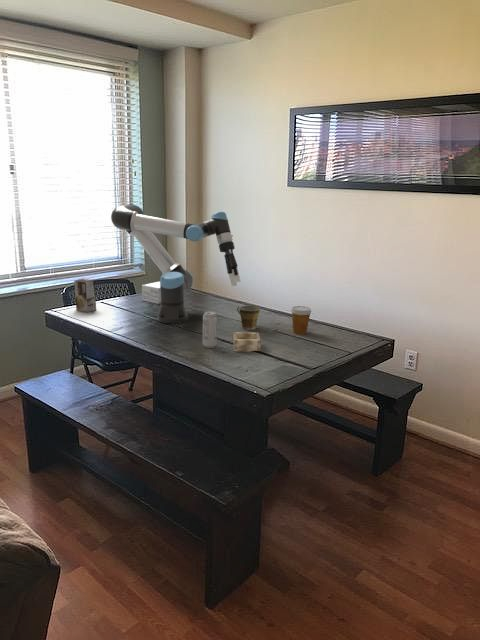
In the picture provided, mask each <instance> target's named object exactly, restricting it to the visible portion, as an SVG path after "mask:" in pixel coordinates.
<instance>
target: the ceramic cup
mask: <svg viewBox="0 0 480 640" xmlns="http://www.w3.org/2000/svg"><path fill="white" fill-rule="evenodd" d="M236 311H237V312H238V314H239V316H240V321H241V328H242V329H244V330H246V331H247V330H248V331H249V330H251V331H253V330H256V328H257V324H258V318H259V314H260V307H259V306H257V305H242V306H237V307H236Z"/></svg>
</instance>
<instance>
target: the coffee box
mask: <svg viewBox="0 0 480 640" xmlns="http://www.w3.org/2000/svg"><path fill="white" fill-rule="evenodd" d="M95 281H96V280H94V279H89V278H88V279H87V278H79V279H75V280H73V283H74V296H75V298H74V299H75V307H76V310H77V311H80V312H85V313H89V312H94V311H97V301H96V299H97V298H96V285H95V284H96V282H95Z"/></svg>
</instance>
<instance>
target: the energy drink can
mask: <svg viewBox="0 0 480 640" xmlns="http://www.w3.org/2000/svg"><path fill="white" fill-rule="evenodd" d="M217 323H218V316H217V314H216V312H215V311H205V312H204V314H203V316H202V345H203V347H204V348H206V349H214V348H215V347H216V346H217V340H218V339H217V338H218V337H217V336H218V335H217V334H218V333H217V331H218V330H217V329H218V327H217V326H218V324H217Z"/></svg>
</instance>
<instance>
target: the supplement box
mask: <svg viewBox="0 0 480 640" xmlns="http://www.w3.org/2000/svg"><path fill="white" fill-rule="evenodd" d="M141 300H142V301H145V302H149V303H152V304H157V305H159V304H160V305H161V294H160V280H158V281H155V282H149V283H146V284H142V285H141Z"/></svg>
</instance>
